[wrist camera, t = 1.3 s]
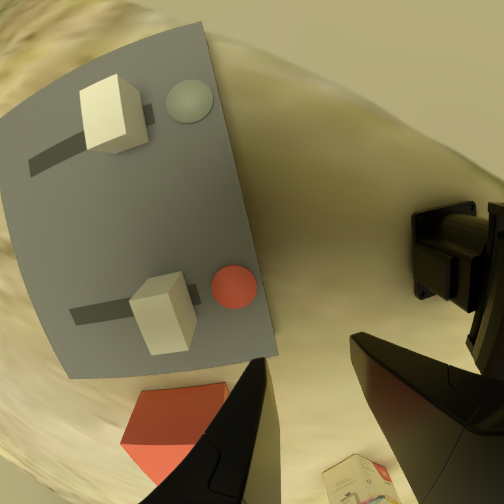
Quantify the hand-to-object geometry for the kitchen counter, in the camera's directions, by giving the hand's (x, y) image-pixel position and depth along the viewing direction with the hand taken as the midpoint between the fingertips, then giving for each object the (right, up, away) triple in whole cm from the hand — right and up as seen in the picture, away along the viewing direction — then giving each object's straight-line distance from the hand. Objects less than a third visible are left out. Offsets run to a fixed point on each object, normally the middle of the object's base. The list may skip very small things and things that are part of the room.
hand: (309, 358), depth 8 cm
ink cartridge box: (+11, -23, +17) cm, 30 cm away
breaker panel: (-10, +5, +9) cm, 14 cm away
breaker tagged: (-6, +1, +7) cm, 10 cm away
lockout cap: (-6, -11, +13) cm, 18 cm away
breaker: (-8, +10, +5) cm, 14 cm away
